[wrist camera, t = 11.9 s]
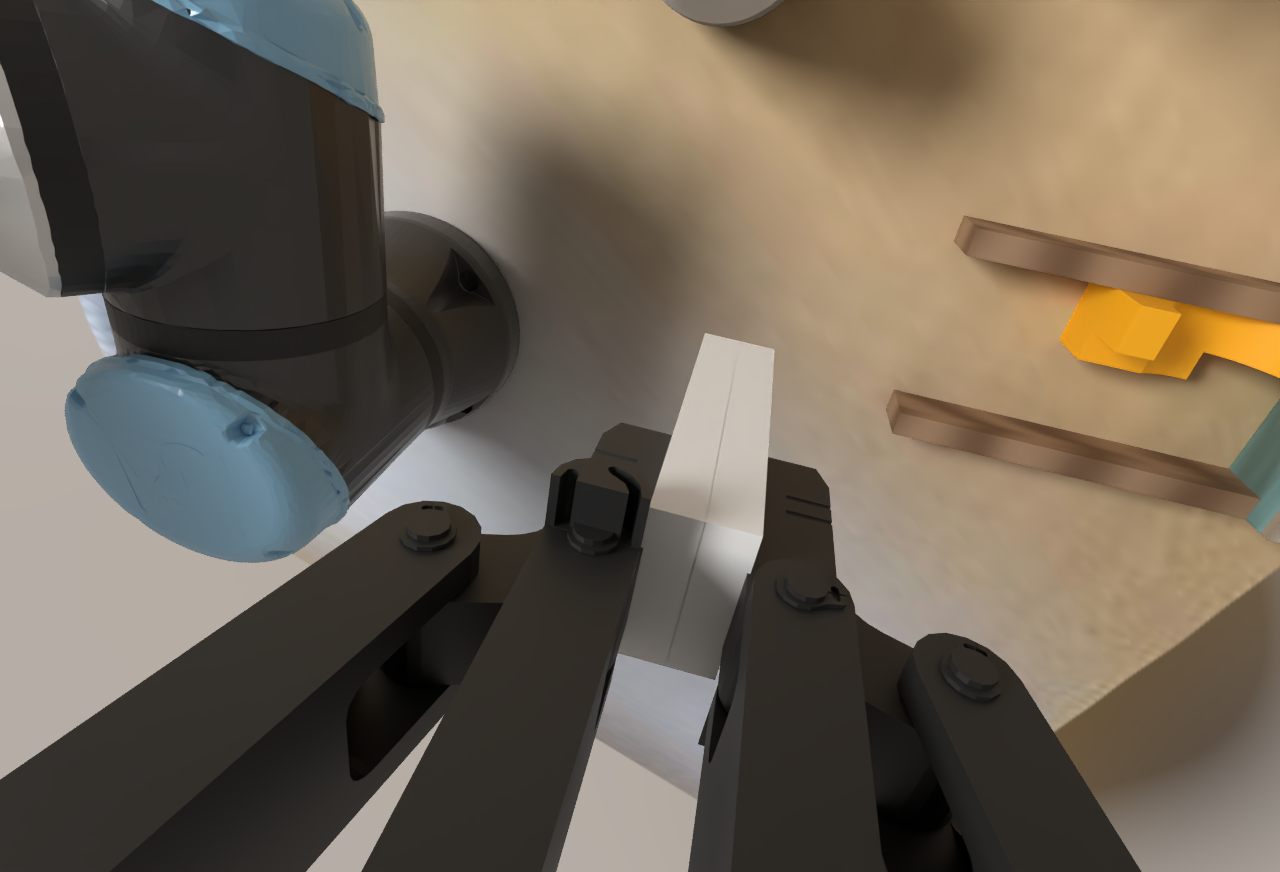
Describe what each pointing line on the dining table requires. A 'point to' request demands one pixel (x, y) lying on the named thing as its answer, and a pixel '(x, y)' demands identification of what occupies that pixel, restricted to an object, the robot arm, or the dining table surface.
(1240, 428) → the dining table surface
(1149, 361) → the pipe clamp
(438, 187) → the dining table surface
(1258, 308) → the channel
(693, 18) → the smart speaker
